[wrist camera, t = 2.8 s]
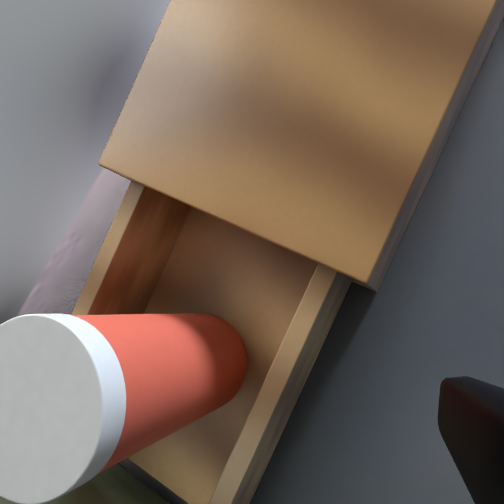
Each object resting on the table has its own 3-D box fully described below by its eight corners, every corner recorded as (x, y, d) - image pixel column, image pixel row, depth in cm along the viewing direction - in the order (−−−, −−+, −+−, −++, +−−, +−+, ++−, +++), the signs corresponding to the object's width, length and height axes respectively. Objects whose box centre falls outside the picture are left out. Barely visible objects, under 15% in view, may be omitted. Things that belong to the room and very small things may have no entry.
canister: (216, 431, 21) (41, 548, 11) (144, 373, 23) (-67, 426, 12) (266, 346, 21) (136, 382, 11) (189, 294, 22) (13, 280, 12)
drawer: (220, 600, 21) (159, 698, 16) (60, 470, 25) (-33, 514, 20) (387, 235, 21) (384, 209, 15) (199, 160, 25) (143, 119, 19)
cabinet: (377, 292, 21) (366, 284, 14) (178, 203, 26) (96, 164, 19) (543, -69, 21) (615, -257, 14) (314, -98, 25) (282, -253, 18)
